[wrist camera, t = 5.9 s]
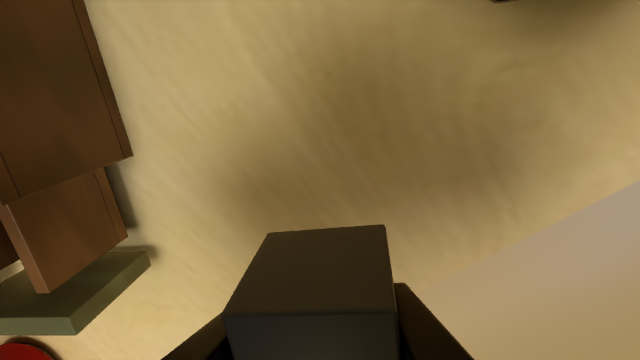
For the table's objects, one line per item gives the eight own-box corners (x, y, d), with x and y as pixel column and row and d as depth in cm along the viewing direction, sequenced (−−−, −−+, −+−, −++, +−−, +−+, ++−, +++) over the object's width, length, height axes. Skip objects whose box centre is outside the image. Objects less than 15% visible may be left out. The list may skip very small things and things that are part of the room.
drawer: (156, 279, 23) (84, 353, 17) (59, 282, 24) (-39, 352, 18) (99, 115, 19) (-17, 137, 13) (-12, 129, 21) (-163, 155, 15)
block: (384, 222, 9) (397, 309, 6) (394, 322, 10) (408, 442, 7) (267, 231, 10) (218, 315, 6) (287, 324, 11) (254, 436, 8)
